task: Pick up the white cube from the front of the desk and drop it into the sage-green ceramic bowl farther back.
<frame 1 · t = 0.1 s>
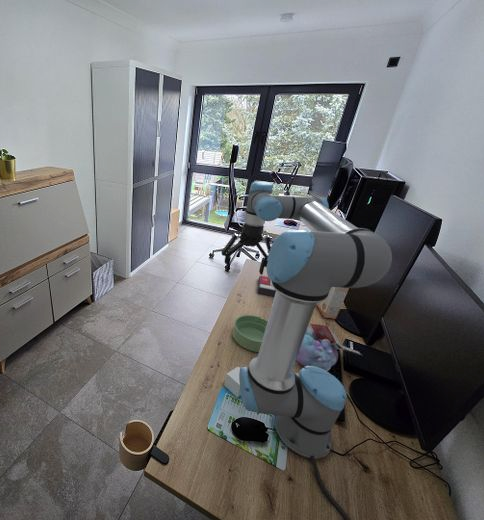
hand: (243, 271, 120), 28 cm above the table, tool pointing down, fingers open, 13 cm apart
cracker box: (324, 310, 144), on the table
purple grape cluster: (312, 356, 116), on the table
white cube: (236, 387, 102), on the table
bowl: (252, 338, 125), on the table
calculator: (268, 288, 161), on the table
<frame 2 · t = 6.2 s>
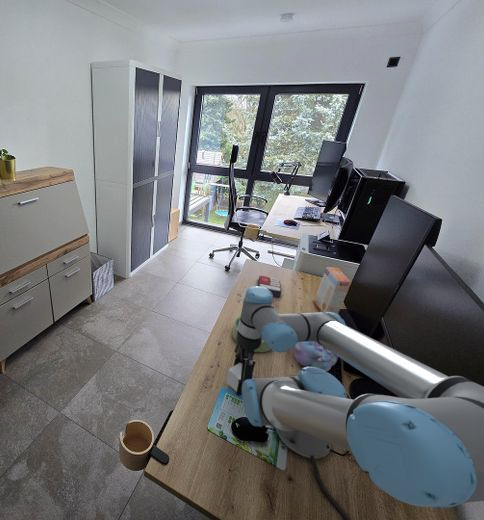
hand: (238, 383, 100), 3 cm above the table, tool pointing down, fingers closed on white cube, 8 cm apart
white cube: (238, 384, 101), point 2 cm above the table, touching gripper
everything else where it was.
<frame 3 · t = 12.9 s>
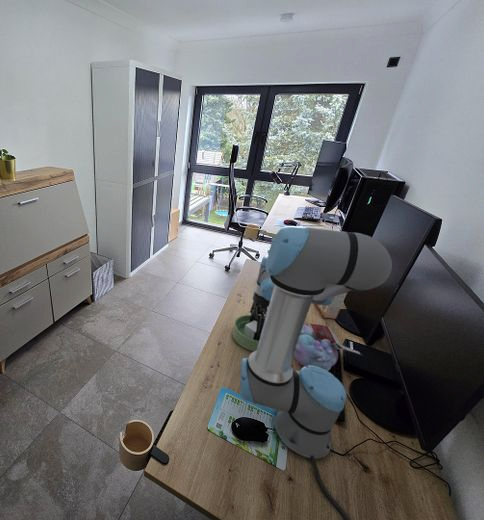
hand: (253, 336, 124), 1 cm above the table, tool pointing down, fingers closed on white cube, 8 cm apart
white cube: (252, 337, 125), resting on bowl, touching gripper
everything else where it was.
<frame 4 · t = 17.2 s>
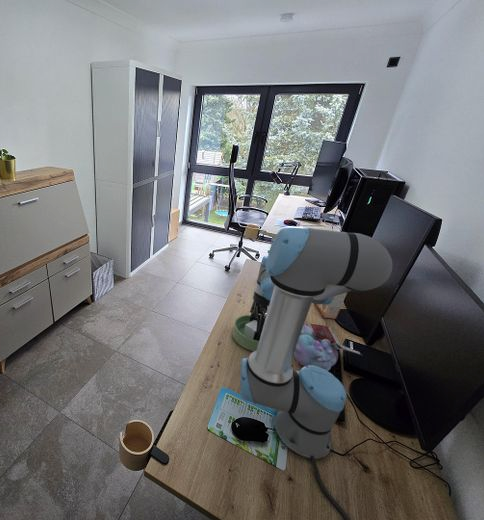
hand: (253, 336, 124), 1 cm above the table, tool pointing down, fingers closed on white cube, 8 cm apart
white cube: (253, 337, 124), point 1 cm above the table, touching gripper
everything else where it was.
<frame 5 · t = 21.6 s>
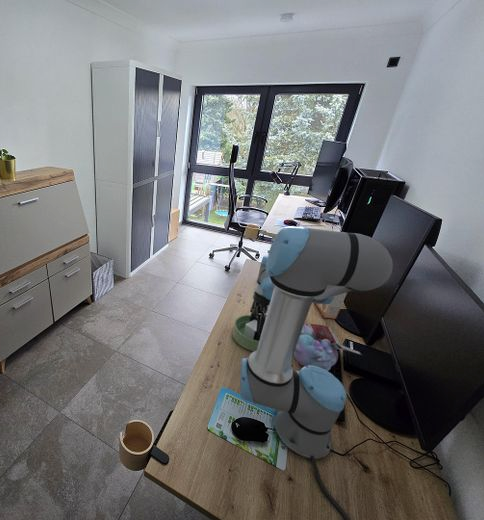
hand: (253, 336, 124), 1 cm above the table, tool pointing down, fingers closed on white cube, 8 cm apart
white cube: (253, 336, 124), point 1 cm above the table, touching gripper
everything else where it was.
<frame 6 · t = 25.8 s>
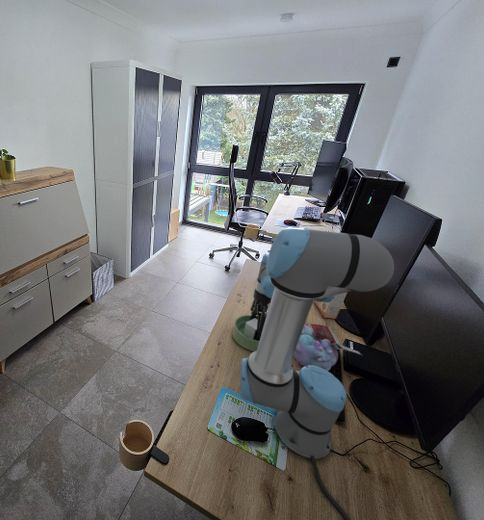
hand: (253, 334, 124), 2 cm above the table, tool pointing down, fingers closed on white cube, 8 cm apart
white cube: (253, 335, 124), point 2 cm above the table, touching gripper
everything else where it was.
when the fingers open (3 cm above the table, at t = 29.5 s): white cube drops 2 cm, resting on bowl.
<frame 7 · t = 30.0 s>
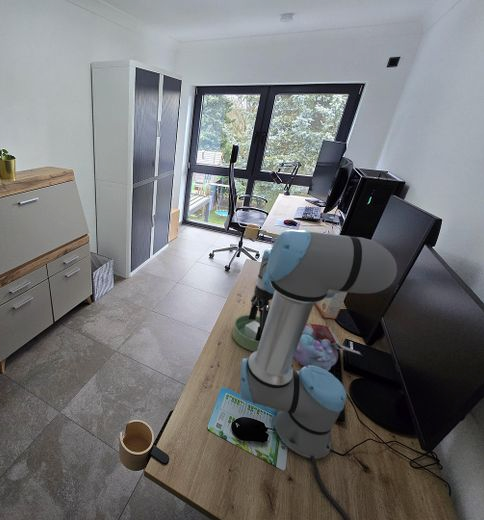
hand: (255, 329, 122), 5 cm above the table, tool pointing down, fingers open, 13 cm apart
white cube: (252, 337, 124), resting on bowl
everything else where it was.
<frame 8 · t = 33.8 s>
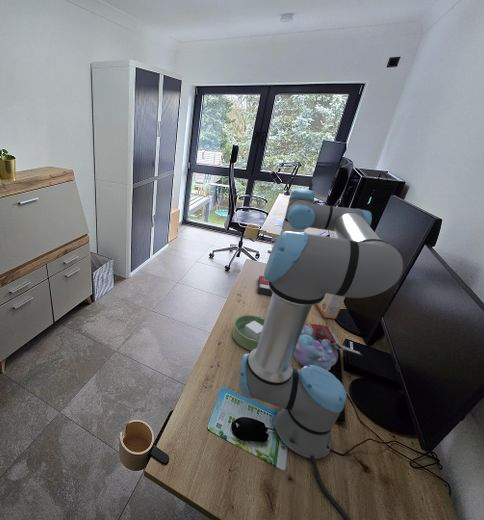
hand: (278, 281, 116), 27 cm above the table, tool pointing down, fingers open, 13 cm apart
nothing on the table moved.
at the end: white cube inside the target area in the bowl (0.1 cm from its centre), point 0.4 cm above the bowl's base; the gripper is holding nothing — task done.
